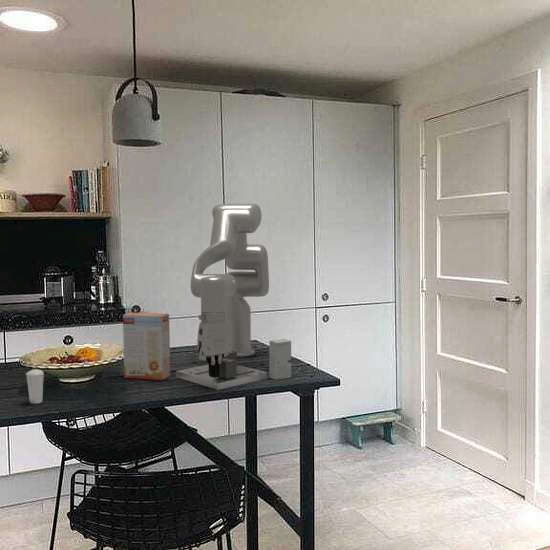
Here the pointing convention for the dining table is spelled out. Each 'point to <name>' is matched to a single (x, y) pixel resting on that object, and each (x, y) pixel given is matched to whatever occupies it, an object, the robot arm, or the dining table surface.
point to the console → (203, 378)
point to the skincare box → (280, 359)
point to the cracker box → (146, 346)
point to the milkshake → (35, 385)
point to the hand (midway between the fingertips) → (214, 376)
